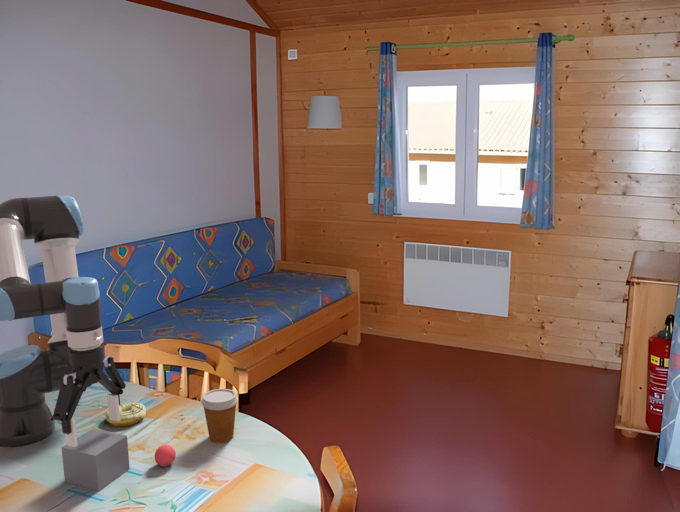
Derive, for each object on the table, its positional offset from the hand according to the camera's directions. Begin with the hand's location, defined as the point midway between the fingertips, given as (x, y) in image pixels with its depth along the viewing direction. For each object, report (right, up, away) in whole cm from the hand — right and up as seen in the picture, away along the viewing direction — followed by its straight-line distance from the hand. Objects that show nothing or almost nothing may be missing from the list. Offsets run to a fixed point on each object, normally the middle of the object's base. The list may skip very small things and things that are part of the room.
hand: (94, 432), depth 146 cm
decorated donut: (-3, -6, +31) cm, 32 cm away
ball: (+15, -8, +7) cm, 18 cm away
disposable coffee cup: (+26, -7, +21) cm, 34 cm away
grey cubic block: (0, -11, +3) cm, 11 cm away
